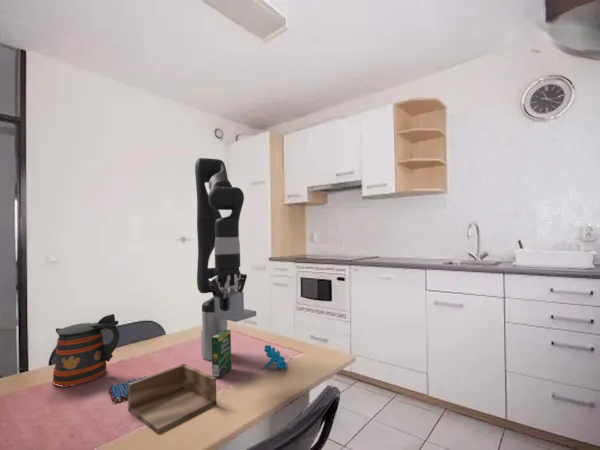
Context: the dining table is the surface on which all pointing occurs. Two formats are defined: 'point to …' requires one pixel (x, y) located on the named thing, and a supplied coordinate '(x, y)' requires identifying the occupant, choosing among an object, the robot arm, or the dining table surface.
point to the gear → (274, 357)
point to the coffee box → (221, 353)
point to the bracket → (233, 307)
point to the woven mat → (120, 391)
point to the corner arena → (171, 396)
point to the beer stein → (83, 351)
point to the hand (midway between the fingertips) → (228, 309)
